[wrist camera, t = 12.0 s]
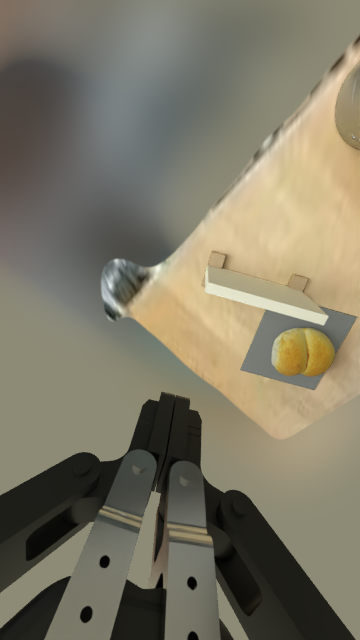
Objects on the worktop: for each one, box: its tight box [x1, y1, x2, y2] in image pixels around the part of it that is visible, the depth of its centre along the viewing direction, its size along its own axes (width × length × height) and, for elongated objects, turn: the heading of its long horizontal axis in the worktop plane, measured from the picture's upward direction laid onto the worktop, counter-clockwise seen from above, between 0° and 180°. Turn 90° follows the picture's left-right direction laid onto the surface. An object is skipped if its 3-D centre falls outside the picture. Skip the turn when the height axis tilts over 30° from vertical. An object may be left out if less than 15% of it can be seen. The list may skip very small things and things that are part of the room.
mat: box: [240, 306, 357, 390], centre depth 43 cm, size 14×13×1 cm
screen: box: [202, 251, 329, 325], centre depth 35 cm, size 5×14×10 cm, turn 75°
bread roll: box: [271, 327, 335, 377], centre depth 41 cm, size 8×9×4 cm
